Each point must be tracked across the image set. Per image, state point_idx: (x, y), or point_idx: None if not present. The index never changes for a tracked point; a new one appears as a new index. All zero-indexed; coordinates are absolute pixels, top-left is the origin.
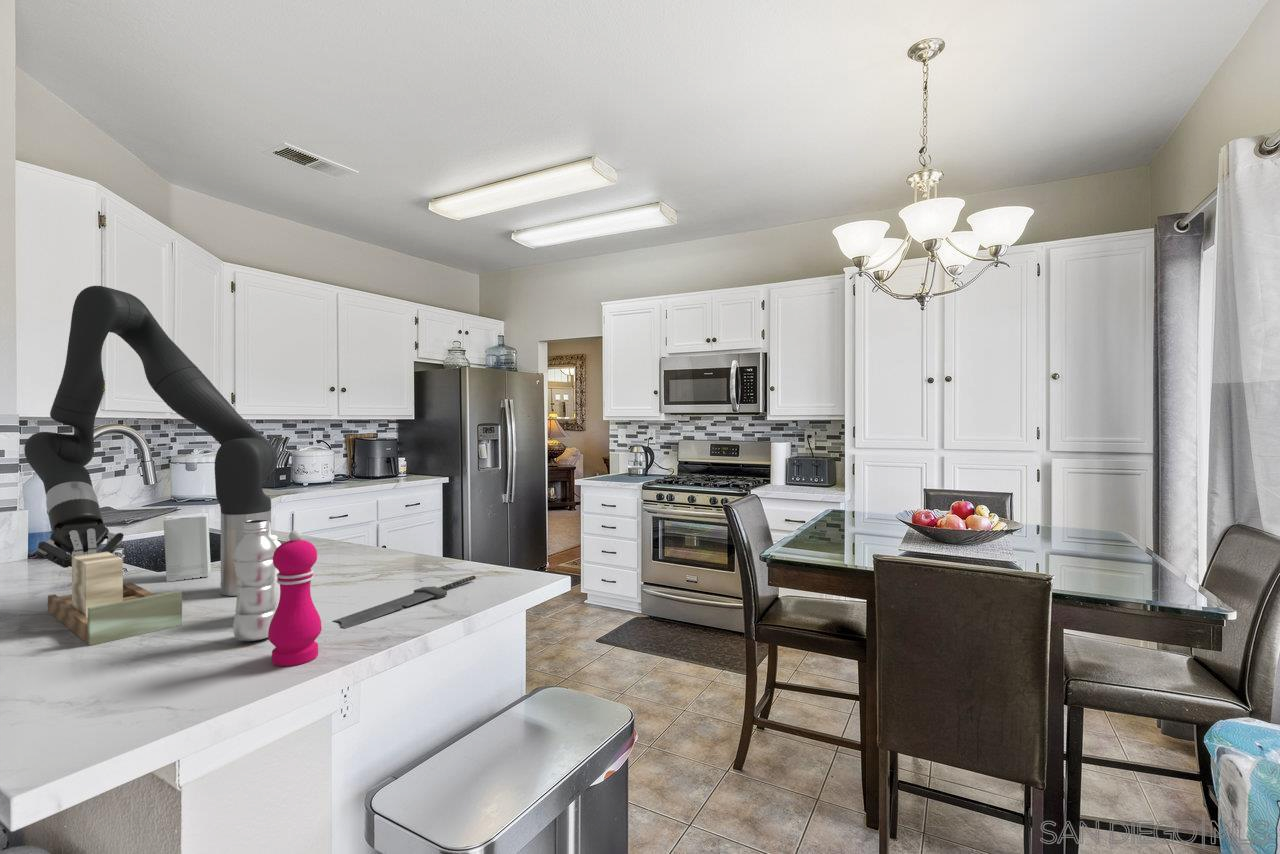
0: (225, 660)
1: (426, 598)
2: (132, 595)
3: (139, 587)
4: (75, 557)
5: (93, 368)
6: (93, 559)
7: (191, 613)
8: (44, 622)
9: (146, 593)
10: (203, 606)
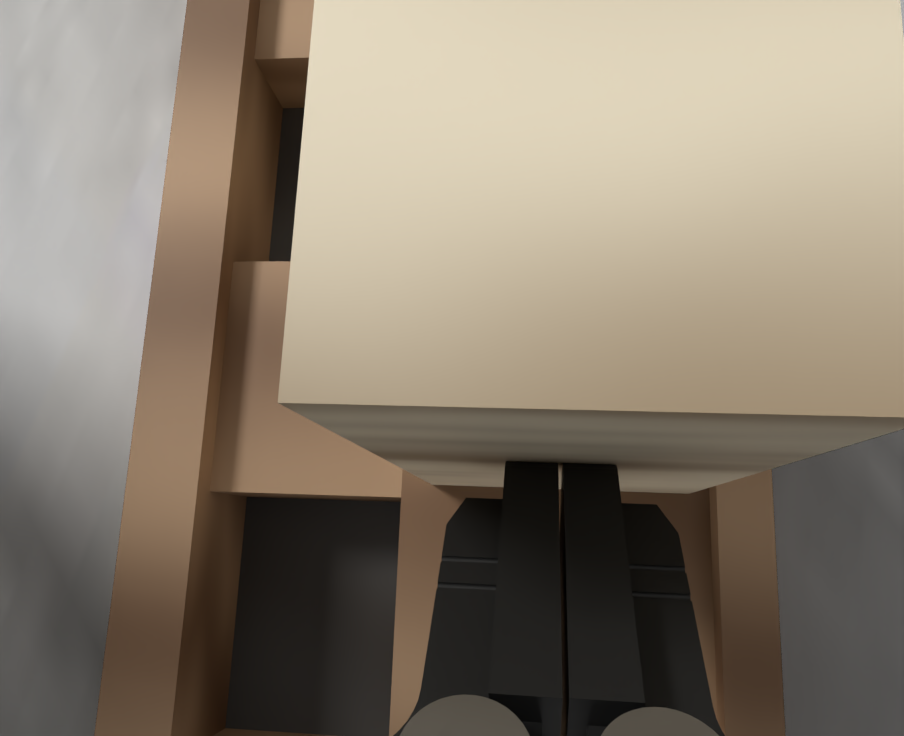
0: None
1: None
2: (205, 655)
3: (109, 696)
4: (898, 169)
5: None
6: None
7: (124, 25)
8: (827, 631)
9: (175, 366)
10: (5, 134)
